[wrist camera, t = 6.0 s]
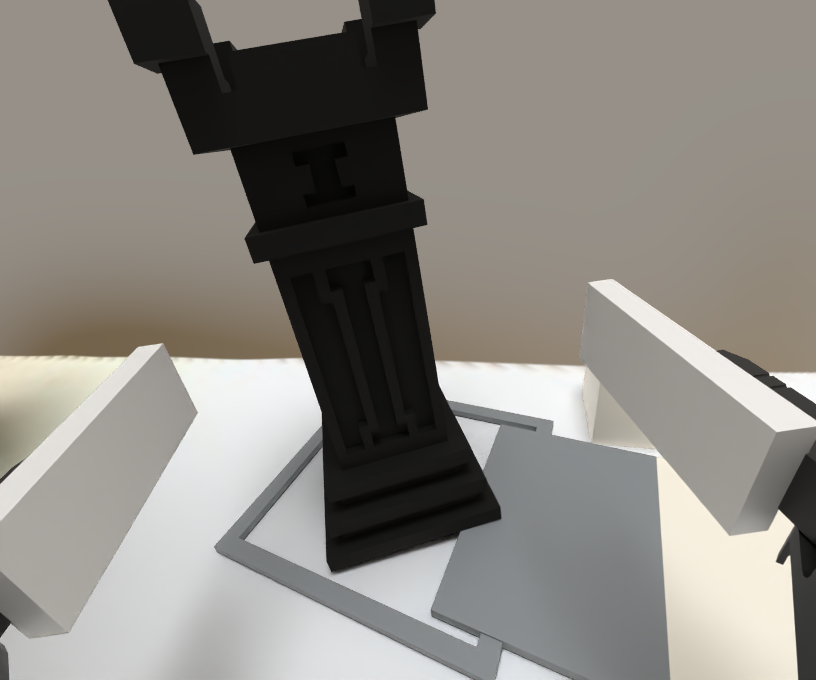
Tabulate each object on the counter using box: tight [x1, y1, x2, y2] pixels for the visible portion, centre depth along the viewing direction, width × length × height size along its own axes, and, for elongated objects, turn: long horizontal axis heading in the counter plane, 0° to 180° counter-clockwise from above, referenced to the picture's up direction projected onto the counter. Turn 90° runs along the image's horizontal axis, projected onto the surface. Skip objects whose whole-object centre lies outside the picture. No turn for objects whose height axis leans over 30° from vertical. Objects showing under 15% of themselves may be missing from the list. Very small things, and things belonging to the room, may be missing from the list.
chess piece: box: [108, 0, 502, 572], centre depth 17 cm, size 8×8×20 cm
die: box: [582, 365, 656, 449], centre depth 23 cm, size 4×4×5 cm
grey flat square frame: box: [214, 400, 553, 680], centre depth 22 cm, size 14×14×1 cm
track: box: [431, 424, 798, 680], centre depth 15 cm, size 24×11×1 cm, turn 65°
